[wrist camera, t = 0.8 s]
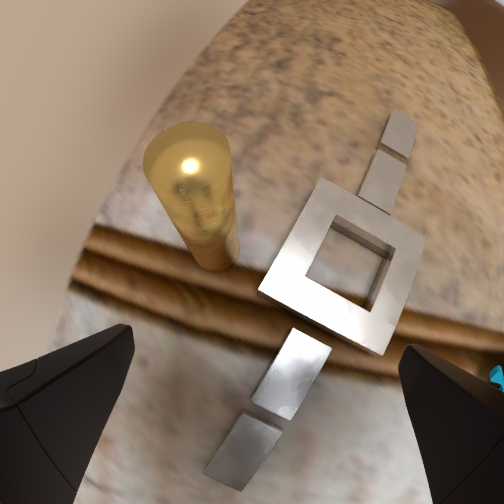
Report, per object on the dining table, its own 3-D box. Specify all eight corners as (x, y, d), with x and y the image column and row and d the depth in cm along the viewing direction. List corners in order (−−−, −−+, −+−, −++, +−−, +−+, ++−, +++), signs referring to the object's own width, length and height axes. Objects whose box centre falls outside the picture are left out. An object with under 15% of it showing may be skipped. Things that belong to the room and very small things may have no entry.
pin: (224, 280, 23) (196, 208, 11) (184, 257, 23) (126, 171, 11) (248, 241, 24) (246, 139, 12) (209, 220, 24) (177, 112, 12)
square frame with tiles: (279, 500, 17) (282, 514, 15) (166, 445, 19) (157, 455, 16) (438, 145, 27) (448, 133, 25) (362, 101, 29) (368, 86, 26)
